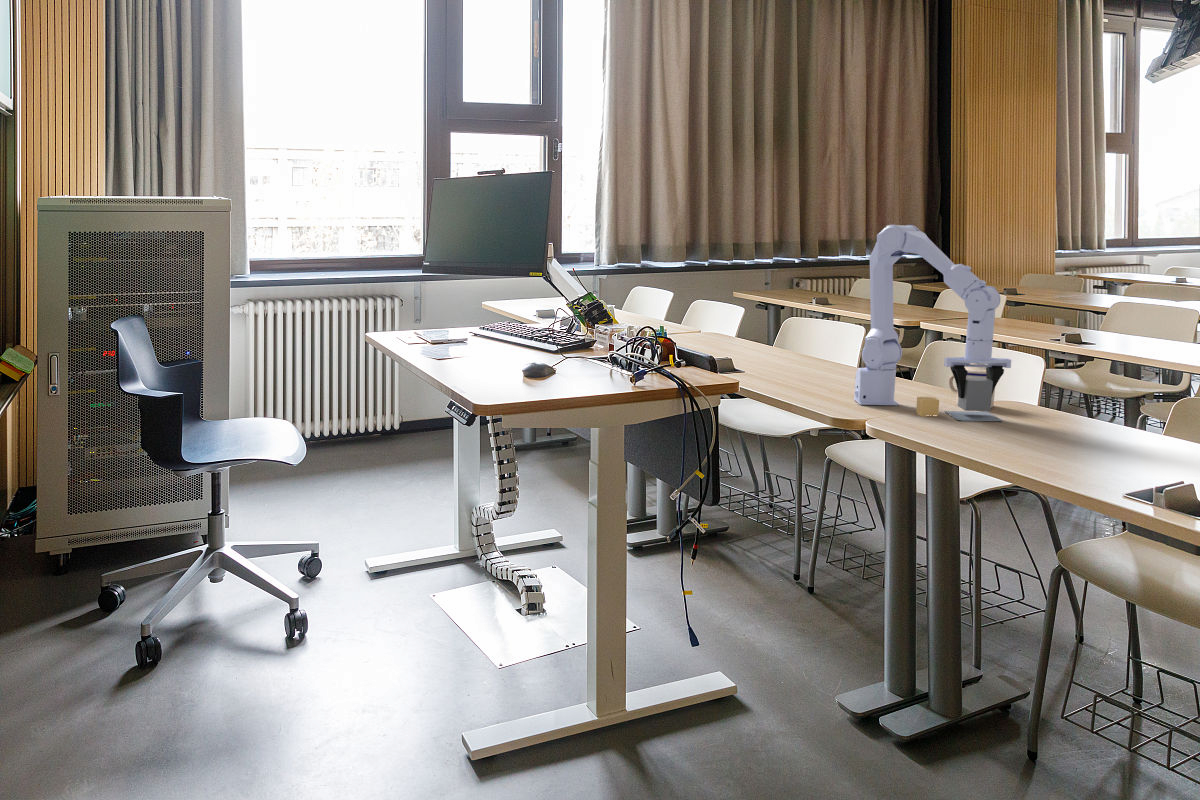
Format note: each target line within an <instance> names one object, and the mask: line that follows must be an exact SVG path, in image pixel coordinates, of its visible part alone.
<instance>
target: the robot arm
mask: <svg viewBox="0 0 1200 800" xmlns="http://www.w3.org/2000/svg"><path fill="white" fill-rule="evenodd" d="M908 253H910V254H915V255H919V257H921V258H923V259H924V260H925V261H926V262H927V263H929V264H930V265H931V266H932V267H934V269H936V271H937V270H938V272H940V273H941V274H942V275H943V282H944V284H945V285H946V286H947V287H949V289H951V290H952V291H953V292H954V293H955V294H956V295H957V296H958V297H960V298H961V299H962V301H964V302H963V303H964V307H965V308H966V309H967V311H968V315H967V324H966V325H967V328H966V338H965V349H964V356H961V357H959V356H958V357H957V356H955V357H954V356H953V357H944V360H943V361H944V362H943V363H944V364H943V365H944V367H946V368H948V367H949V368H950V370H951V373H952V375H953V376H954V378H953V379H954V381H955V385H956V390H958V397H959V398H964V394H965V381H966V376H967V372H968V371H967V370H965V368H964V367H987V368H986V378H987V379H989V380H992V381H993V387H992V394H993V391H994V389H995V390H996V386H997V384H998V382H1000V379H1001V377H1002V376H1003V375H1004V373H1005V369H1011V368H1012V359H1011V358H999V357H998V358H997V357H992V355H993V354H992V353H993V346H994V345H993V343H994V333H995V317H996V310H997V308H998V307H999V306H1000V304H1001V294H1000V292H999V291H998V290H997V288H996V287H994V286H993V285H992V286H990V285H986V284H987V282H986V281H985V280H984V279H983V280H981V279H980V278H979V277H978V276H977V275H976V274H974V273H973V272H972V271H971V270H972V267H971V266H969V265H964V264H963V263H957V264H955V263H954V262H953V261H952V260H951V259H950V258H949V257H948V256H947V255H946V254H945V253H944V252H943V251H942V250H941V249H940V248H939V247H938V246H937V245H936V244H935V243H934V242H933V241H932V240H931V239H930V238H929V237H928V236H927V234H926V233H925V232H923V231H921V230H920V229H919V228H918V227H917V226H915V225H913V224H907V225H901V224H900V225H896V224H889V225H886V226H885V227H884V228H883V229H882V230H880V232H878V233H877V234H876V242H875V245H874V247H873V249H872V251H871V254H870V256H869V296H870V297H869V298H870V299H869V301H870V302H869V303H870V305H869V307H870V330H869V332H868V333H867V335H865V337H864V345H863V348H862V350H861V359H862V362H863V363H864V365H865V367H858V368H856V371H855V382H854V397H853V400H854V401H856V402H857V403H858V404H859V405H861V406H899V402H897V401H895V392H896V391H895V390H896V389H895V387H896V373H897V363H898V362H899V361H900V360H901V359H902V357H903V349H902V346H901V344H900V342H899V334H898V333H897V331H896V330H895V328H894V327H895V326H894V276H893V275H894V270H893V269H894V267H893V266H894V264H895V263H896V262H897V261H898V260H900V259H901V258H902V257H903V256H905V255H906V254H908ZM971 363H973V364H971ZM979 364H986V365H979Z"/></svg>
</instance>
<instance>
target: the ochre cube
mask: <svg viewBox="0 0 1200 800" xmlns="http://www.w3.org/2000/svg"><path fill="white" fill-rule="evenodd" d="M939 409H940V400H939V399H938V398H937V397H935V396H916V409H915V410H916V411H915V413H916V414H917V415H918V414H919V415H920V416H919V415H918V416H919V417H927V416H926V415H929V416H930V415H931V416H933V415H938V416H939V411H940V410H939Z"/></svg>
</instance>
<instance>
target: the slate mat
mask: <svg viewBox="0 0 1200 800" xmlns="http://www.w3.org/2000/svg"><path fill="white" fill-rule="evenodd" d="M945 412H946V413H948V414H950V415H951V416H952V417H954V418H955V419H957V420H962V421H961V422H974V421H1001V422H1000V423H1003V422H1004V421H1003V420H1002V419H1001V418H999V417H997V416H996V415H994V414H992V413H990V411H965V410H963V411H961V410H957V411H956V410H944V413H945ZM946 413H945V414H946ZM948 414H947V415H948ZM951 416H950V417H951ZM952 417H951V418H952ZM954 418H953V419H954ZM955 419H954V420H955ZM957 420H956V421H957Z"/></svg>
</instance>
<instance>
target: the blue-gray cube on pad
mask: <svg viewBox="0 0 1200 800" xmlns="http://www.w3.org/2000/svg"><path fill="white" fill-rule="evenodd" d="M992 387H993V381H992V380H989V379H987V378H985V377H966V381H965V394H964V398H959V397H958V405H957V407H958V408H960V409H962V410H963V411H971V412H991V409H992V408H991V398H992Z"/></svg>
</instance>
